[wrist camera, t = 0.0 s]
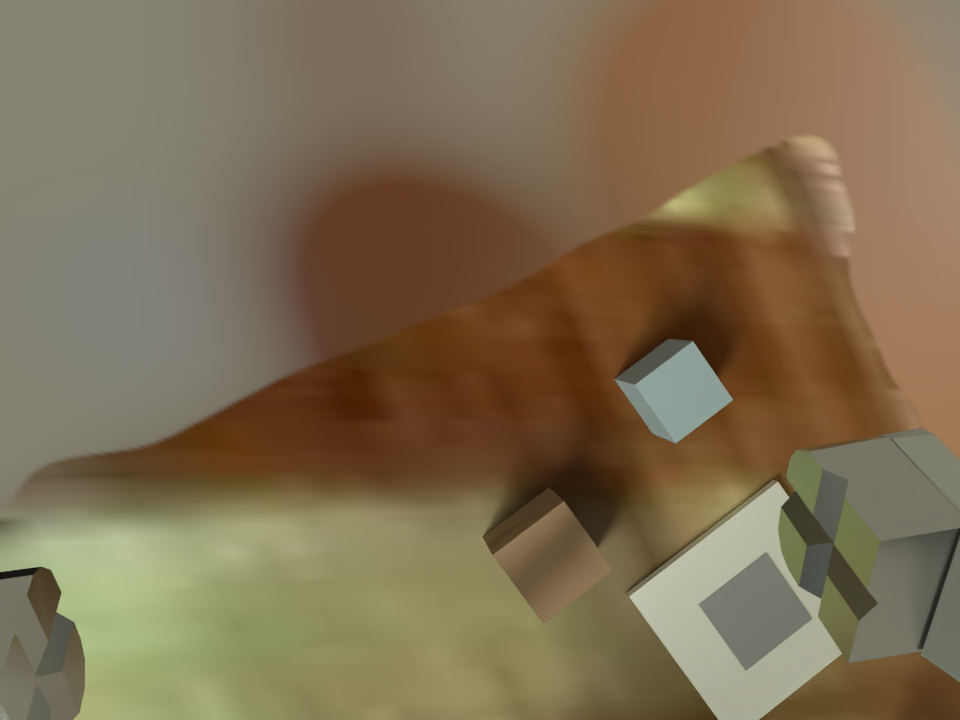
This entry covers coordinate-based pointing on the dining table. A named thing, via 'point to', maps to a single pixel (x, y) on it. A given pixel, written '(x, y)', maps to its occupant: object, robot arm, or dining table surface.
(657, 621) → the plate
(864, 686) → the dining table surface
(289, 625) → the dining table surface
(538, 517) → the walnut block
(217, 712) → the dining table surface
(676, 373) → the grey cube
